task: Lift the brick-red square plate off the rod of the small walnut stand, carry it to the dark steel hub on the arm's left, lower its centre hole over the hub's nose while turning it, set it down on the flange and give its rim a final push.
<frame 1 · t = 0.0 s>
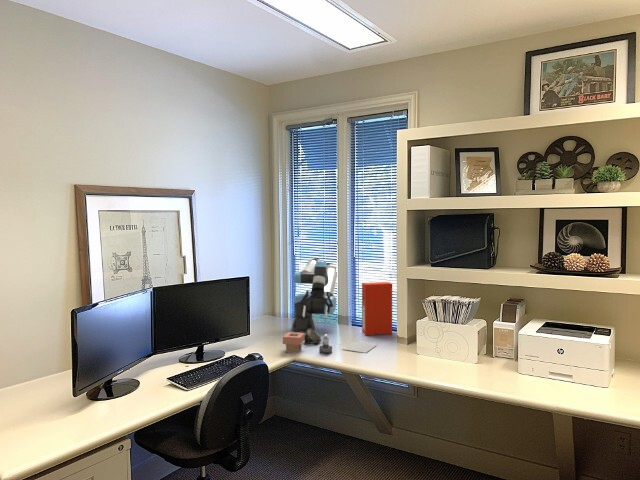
hand: (314, 316, 281), 15 cm above the table, tool tilted 35°, fingers open, 13 cm apart
fossil: (312, 343, 282), on the table
file binder: (376, 333, 302), on the table
clutch plate: (293, 342, 266), point 5 cm above the table, touching stand
hub: (325, 352, 263), on the table
stand: (293, 350, 266), on the table
paper stack: (365, 351, 266), on the table
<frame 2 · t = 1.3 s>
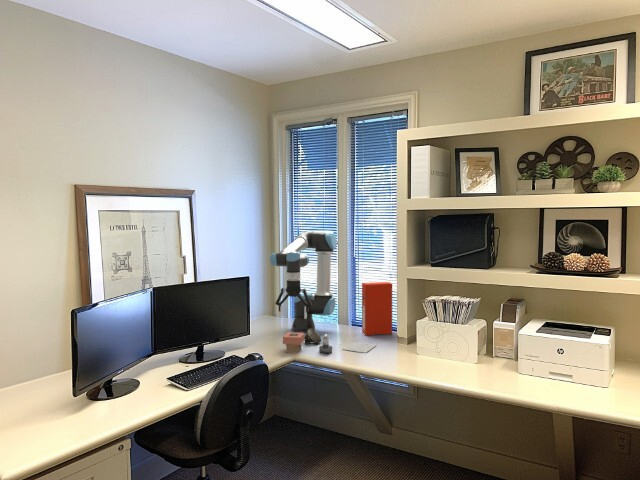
hand: (293, 317, 265), 19 cm above the table, tool pointing down, fingers open, 13 cm apart
nothing on the table moved.
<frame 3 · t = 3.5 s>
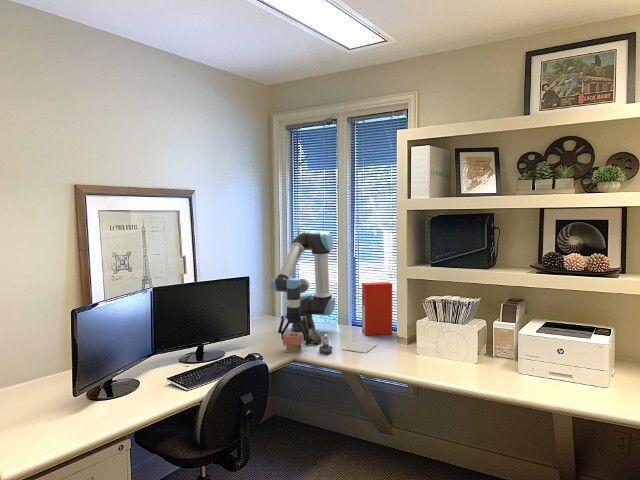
hand: (293, 346, 266), 3 cm above the table, tool pointing down, fingers closed on clutch plate, 10 cm apart
clutch plate: (293, 342, 266), point 5 cm above the table, touching gripper, stand
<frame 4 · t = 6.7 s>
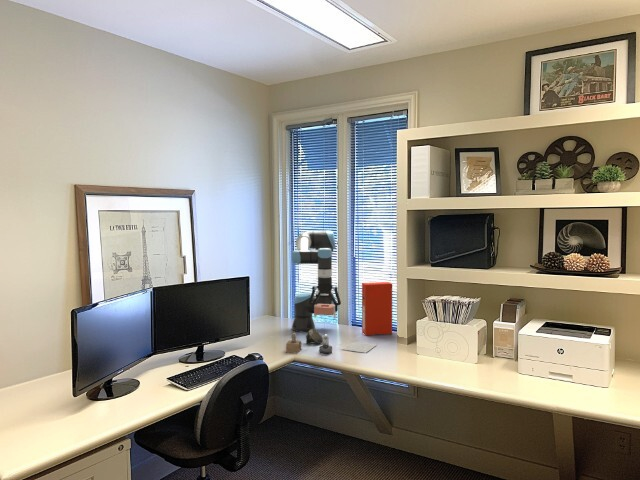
hand: (325, 317, 262), 20 cm above the table, tool pointing down, fingers closed on clutch plate, 10 cm apart
clutch plate: (324, 313, 261), point 22 cm above the table, touching gripper
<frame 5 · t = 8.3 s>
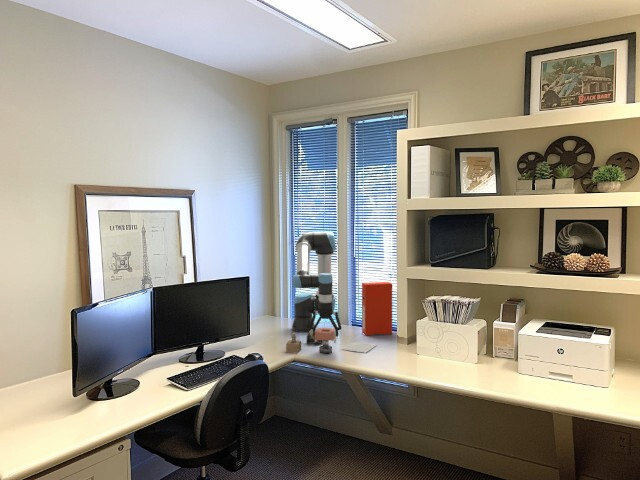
hand: (325, 341, 263), 6 cm above the table, tool pointing down, fingers closed on clutch plate, 10 cm apart
clutch plate: (325, 337, 262), point 8 cm above the table, touching gripper
when the fingers open (2 cm above the table, at t = 9.7 s): clutch plate drops 1 cm, resting on hub.
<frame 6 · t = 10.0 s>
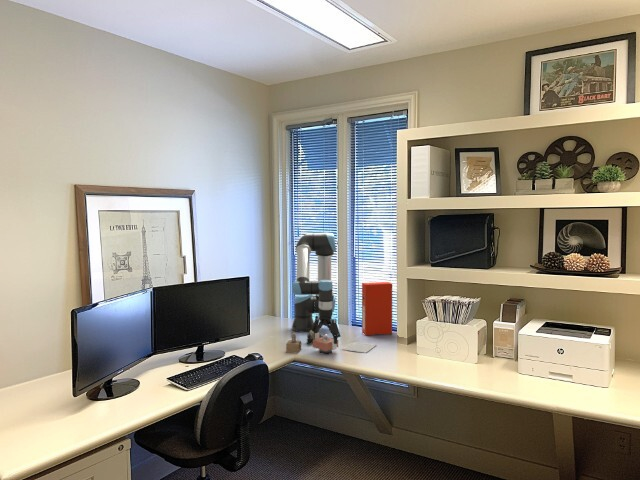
hand: (325, 347, 263), 3 cm above the table, tool pointing down, fingers open, 13 cm apart
clutch plate: (325, 347, 263), point 3 cm above the table, touching hub
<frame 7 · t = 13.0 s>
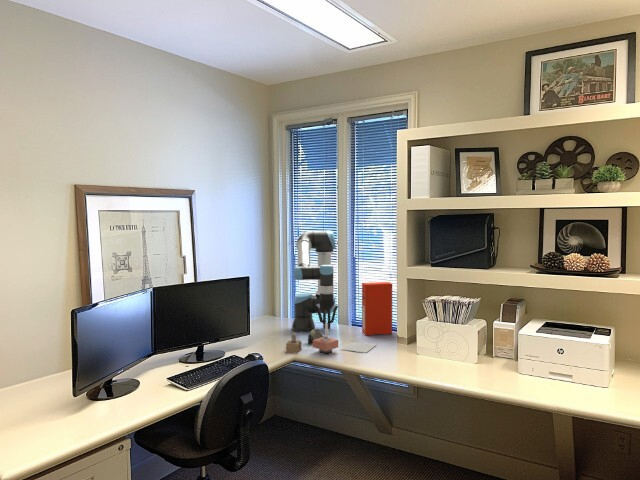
hand: (326, 334, 266), 9 cm above the table, tool pointing down, fingers closed
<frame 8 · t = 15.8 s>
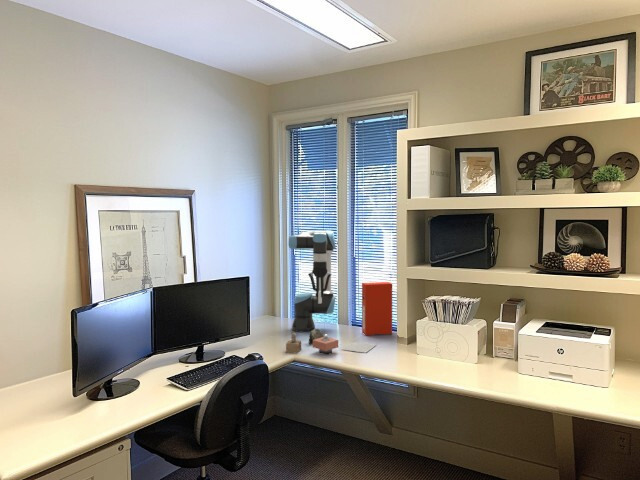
hand: (320, 303, 267), 26 cm above the table, tool pointing down, fingers closed
at the end: clutch plate 0.1 cm off-centre on the hub, point 3.0 cm above the hub's base; clutch plate tilted 0°; the gripper is holding nothing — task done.
